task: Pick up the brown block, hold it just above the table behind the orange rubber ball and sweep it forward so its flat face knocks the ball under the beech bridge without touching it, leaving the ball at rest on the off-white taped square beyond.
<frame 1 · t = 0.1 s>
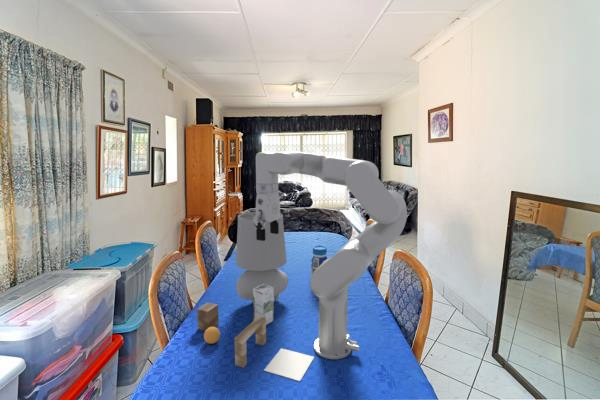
hand: (267, 236, 114), 37 cm above the table, tool pointing down, fingers open, 9 cm apart
table lamp: (263, 303, 143), on the table
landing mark: (289, 363, 102), on the table
beverage bottle: (319, 286, 160), on the table
brown block: (208, 326, 124), on the table
ball: (212, 335, 113), on the table
bridge: (251, 353, 108), on the table
syrup box: (263, 322, 127), on the table
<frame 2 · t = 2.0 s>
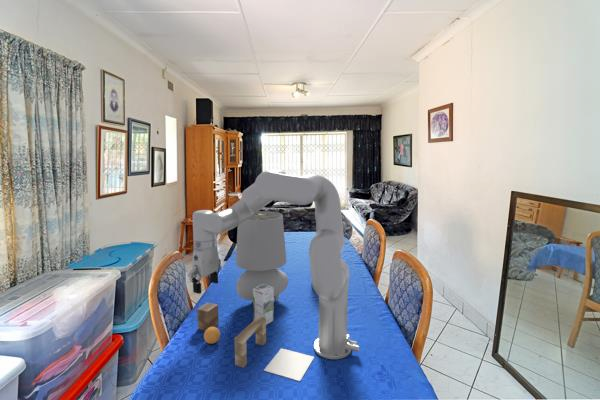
hand: (206, 287, 122), 16 cm above the table, tool pointing down, fingers open, 9 cm apart
nothing on the table moved.
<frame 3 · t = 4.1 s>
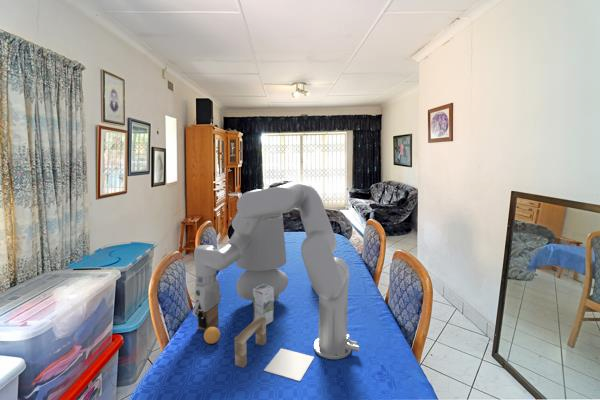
hand: (208, 322, 124), 2 cm above the table, tool pointing down, fingers closed on brown block, 6 cm apart
brown block: (208, 326, 124), on the table, touching gripper
everything else where it was.
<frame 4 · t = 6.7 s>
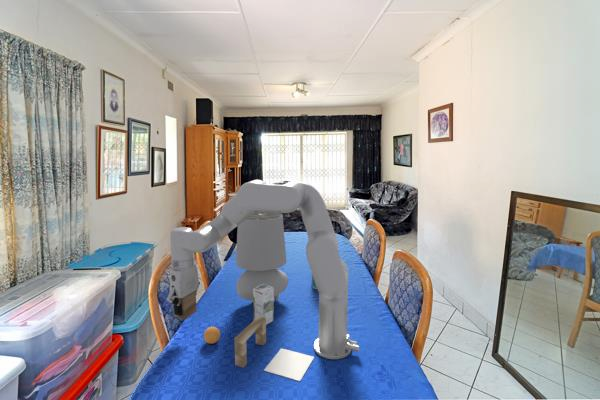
hand: (185, 310, 117), 10 cm above the table, tool pointing down, fingers closed on brown block, 6 cm apart
brown block: (185, 314, 117), point 8 cm above the table, touching gripper
everything else where it was.
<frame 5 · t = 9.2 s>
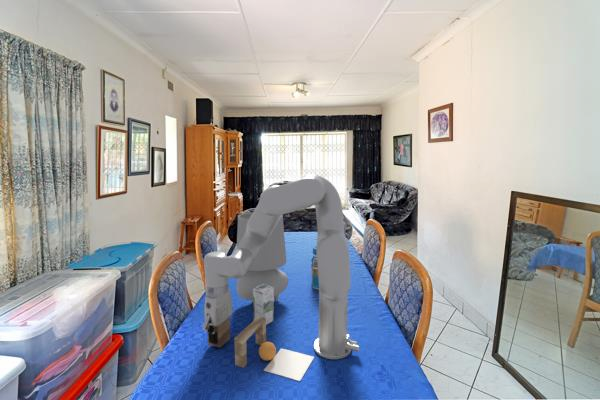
hand: (219, 337, 112), 3 cm above the table, tool pointing down, fingers closed on brown block, 6 cm apart
brown block: (219, 341, 113), point 1 cm above the table, touching gripper
ball: (267, 350, 104), on the table
everything else where it was.
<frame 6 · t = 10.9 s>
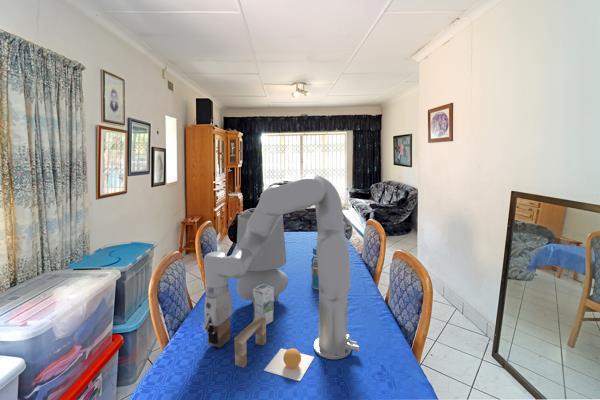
hand: (219, 337, 112), 3 cm above the table, tool pointing down, fingers closed on brown block, 6 cm apart
brown block: (219, 341, 113), point 1 cm above the table, touching gripper
ball: (292, 358, 101), on the table
everything else where it was.
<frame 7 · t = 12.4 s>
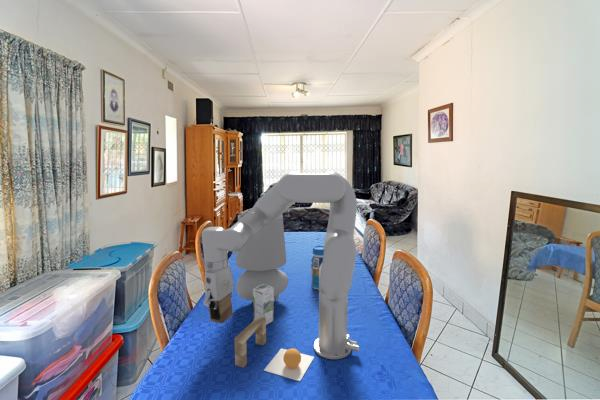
hand: (221, 313, 111), 11 cm above the table, tool pointing down, fingers closed on brown block, 6 cm apart
brown block: (221, 318, 111), point 10 cm above the table, touching gripper
everything else where it was.
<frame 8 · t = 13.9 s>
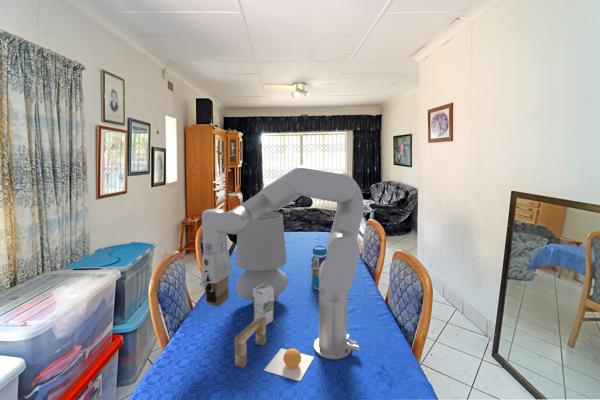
hand: (217, 297, 110), 17 cm above the table, tool pointing down, fingers closed on brown block, 6 cm apart
brown block: (217, 301, 110), point 16 cm above the table, touching gripper
everything else where it was.
at the end: ball 1.3 cm from the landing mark (horizontally); ball never touched bridge; ball at rest at the end (0.0 cm/s) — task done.
